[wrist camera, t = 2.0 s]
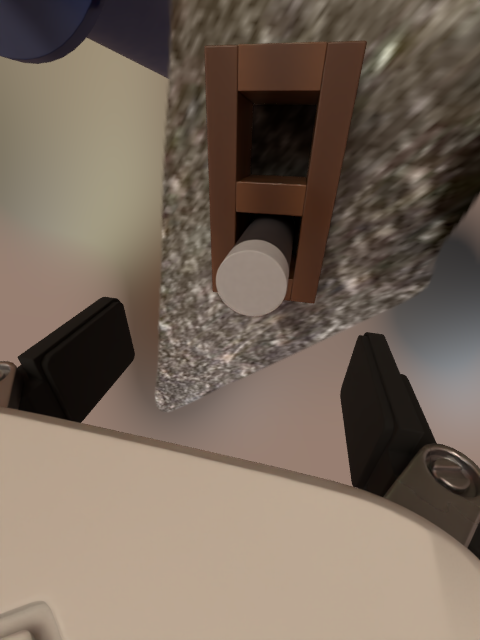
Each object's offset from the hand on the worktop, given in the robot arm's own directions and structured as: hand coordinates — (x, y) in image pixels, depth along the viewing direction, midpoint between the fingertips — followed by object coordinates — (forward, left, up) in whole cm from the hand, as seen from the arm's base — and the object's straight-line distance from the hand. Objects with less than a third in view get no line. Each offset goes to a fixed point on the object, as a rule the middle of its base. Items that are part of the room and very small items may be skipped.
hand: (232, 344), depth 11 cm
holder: (0, +4, -18) cm, 18 cm away
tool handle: (0, 0, -18) cm, 18 cm away
